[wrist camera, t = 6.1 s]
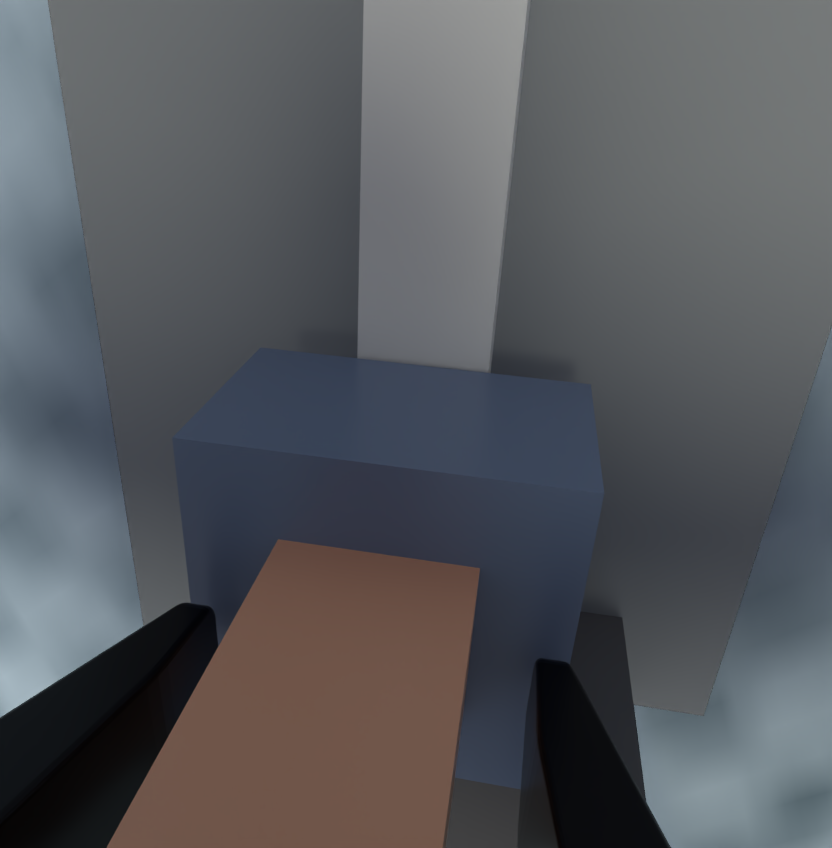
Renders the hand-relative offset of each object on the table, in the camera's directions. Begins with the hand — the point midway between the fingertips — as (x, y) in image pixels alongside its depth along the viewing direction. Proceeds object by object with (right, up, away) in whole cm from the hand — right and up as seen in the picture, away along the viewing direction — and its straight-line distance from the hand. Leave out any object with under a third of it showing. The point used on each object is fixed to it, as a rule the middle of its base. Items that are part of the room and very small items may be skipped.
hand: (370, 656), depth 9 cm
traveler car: (+1, +2, +3) cm, 3 cm away
